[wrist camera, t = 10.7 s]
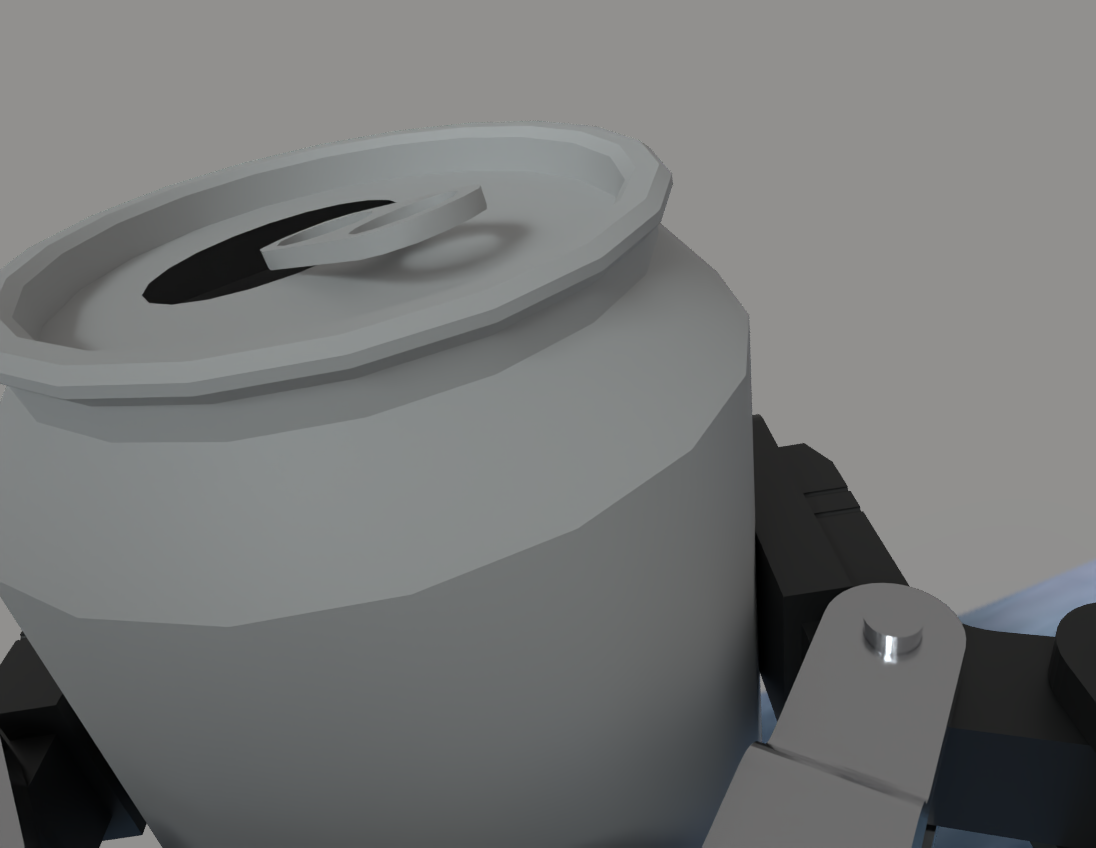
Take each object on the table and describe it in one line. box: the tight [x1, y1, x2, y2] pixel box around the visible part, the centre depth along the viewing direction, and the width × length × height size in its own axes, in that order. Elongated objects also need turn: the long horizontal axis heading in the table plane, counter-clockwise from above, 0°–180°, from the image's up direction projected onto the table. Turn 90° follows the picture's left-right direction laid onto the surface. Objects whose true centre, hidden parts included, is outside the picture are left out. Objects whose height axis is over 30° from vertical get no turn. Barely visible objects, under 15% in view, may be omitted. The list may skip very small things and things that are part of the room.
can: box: [0, 121, 762, 848], centre depth 11 cm, size 8×8×12 cm
